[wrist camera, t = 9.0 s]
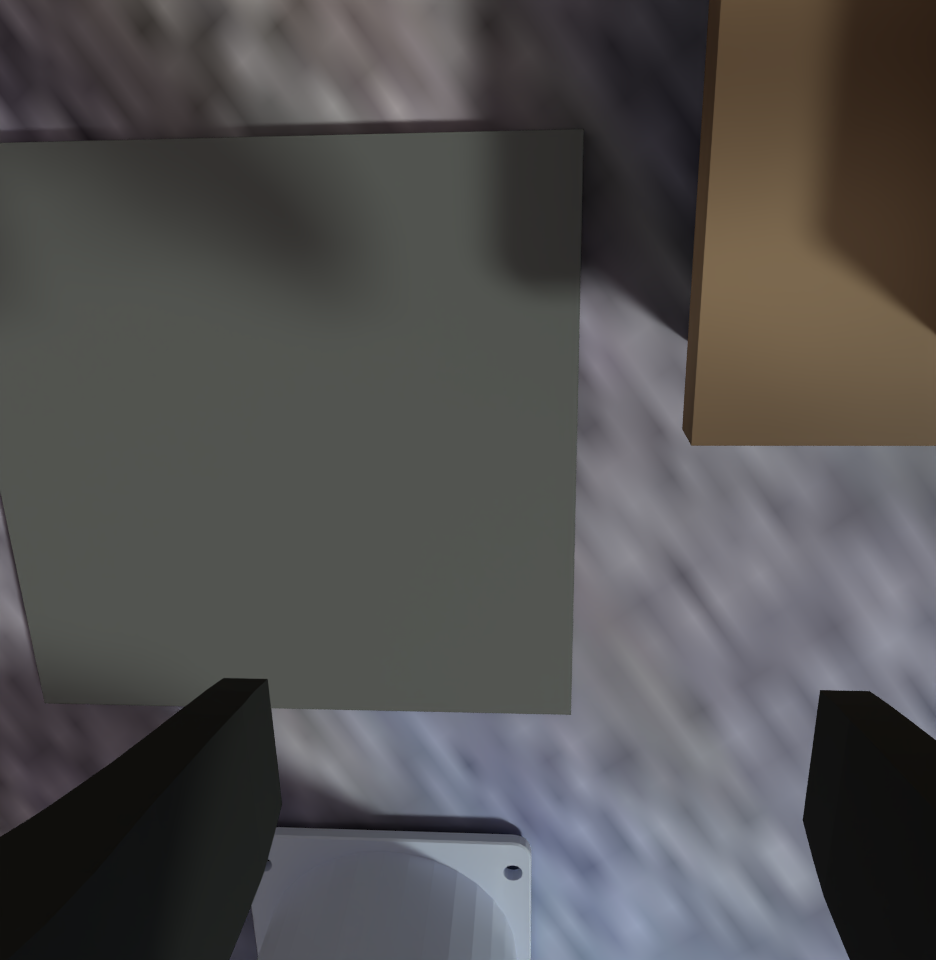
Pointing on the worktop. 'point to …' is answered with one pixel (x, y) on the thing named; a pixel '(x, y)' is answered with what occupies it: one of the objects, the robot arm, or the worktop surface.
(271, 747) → the robot arm
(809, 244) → the lid
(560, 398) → the mat
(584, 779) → the worktop surface
